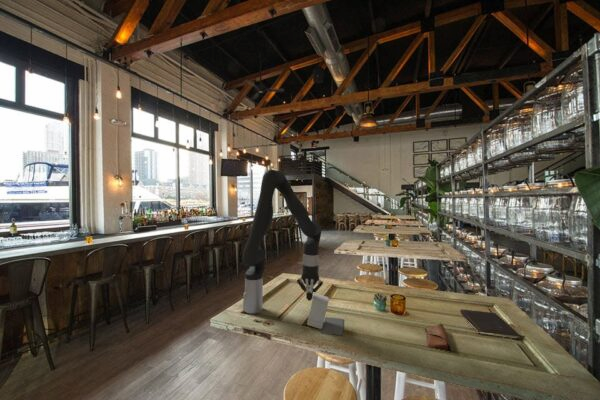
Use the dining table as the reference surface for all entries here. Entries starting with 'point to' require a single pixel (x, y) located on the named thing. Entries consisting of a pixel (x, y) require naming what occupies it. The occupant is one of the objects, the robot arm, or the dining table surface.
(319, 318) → the supplement box
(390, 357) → the dining table surface
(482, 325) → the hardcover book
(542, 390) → the dining table surface
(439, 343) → the sunglasses case
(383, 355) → the dining table surface
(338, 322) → the dark grey rectangular panel
